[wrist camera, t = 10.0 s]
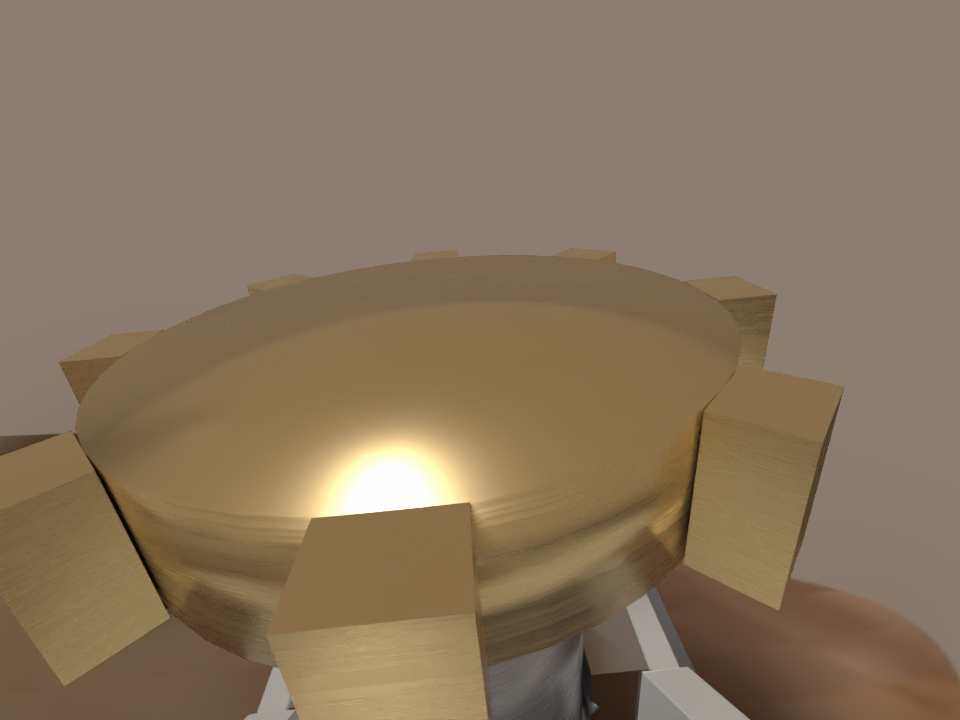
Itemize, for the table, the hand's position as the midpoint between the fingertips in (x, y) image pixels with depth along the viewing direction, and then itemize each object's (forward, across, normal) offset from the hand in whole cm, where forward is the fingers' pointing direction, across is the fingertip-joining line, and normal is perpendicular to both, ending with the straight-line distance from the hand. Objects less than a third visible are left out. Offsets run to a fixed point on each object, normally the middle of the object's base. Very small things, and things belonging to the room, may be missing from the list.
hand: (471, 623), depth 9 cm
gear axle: (-1, 0, -8) cm, 8 cm away
